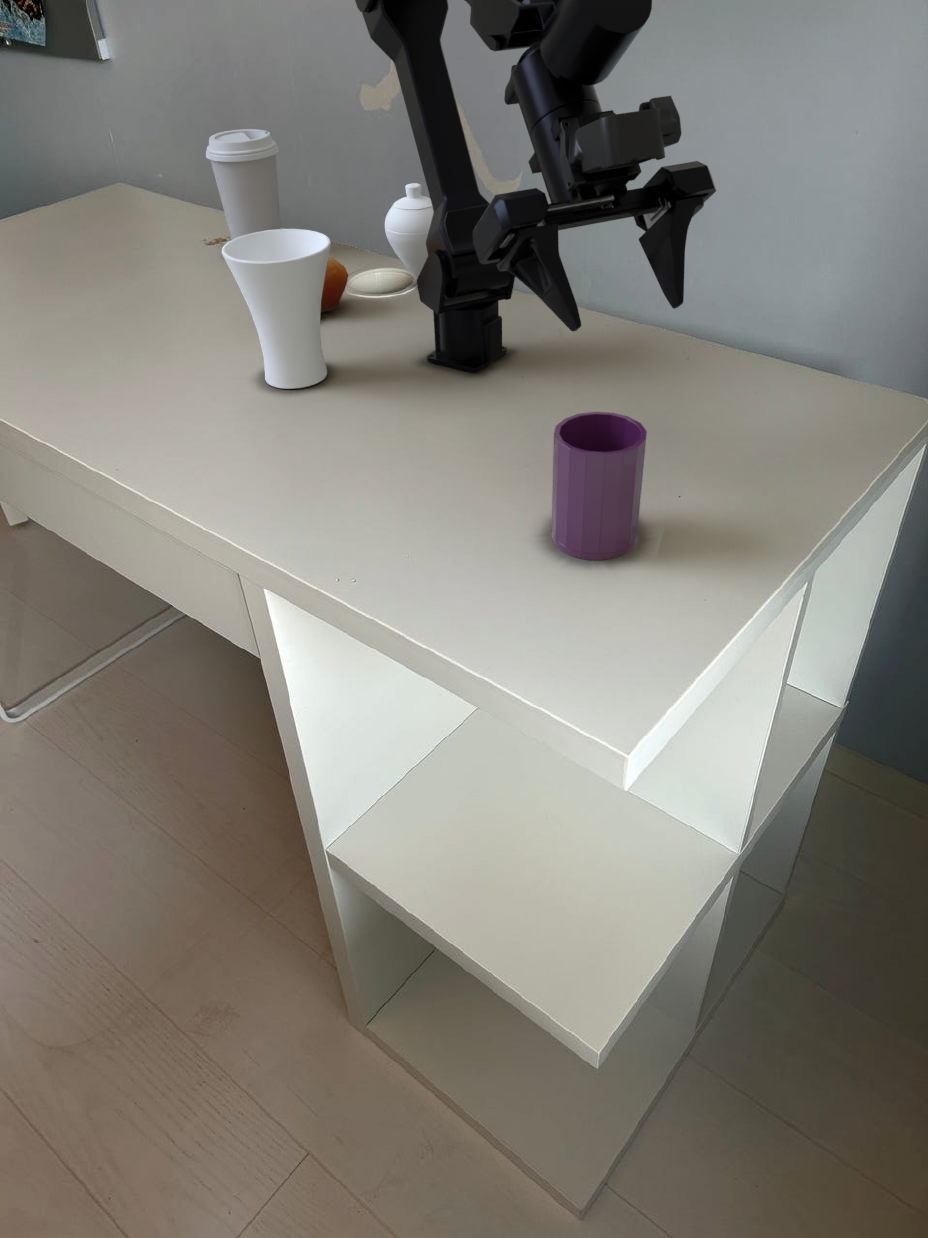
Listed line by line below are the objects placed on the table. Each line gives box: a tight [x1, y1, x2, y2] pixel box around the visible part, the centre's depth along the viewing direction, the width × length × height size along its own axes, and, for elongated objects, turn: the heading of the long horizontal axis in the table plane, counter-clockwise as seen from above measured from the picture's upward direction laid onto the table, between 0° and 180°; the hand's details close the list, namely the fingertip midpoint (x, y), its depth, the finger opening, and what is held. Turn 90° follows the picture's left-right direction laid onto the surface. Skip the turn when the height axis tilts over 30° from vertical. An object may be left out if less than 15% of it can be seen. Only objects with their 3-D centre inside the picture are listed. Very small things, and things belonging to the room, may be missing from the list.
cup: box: [221, 228, 332, 390], centre depth 96 cm, size 10×10×14 cm
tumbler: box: [550, 411, 648, 561], centre depth 72 cm, size 7×7×9 cm
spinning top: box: [384, 182, 434, 279], centre depth 117 cm, size 8×8×12 cm
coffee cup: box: [205, 128, 282, 240], centre depth 129 cm, size 10×10×15 cm
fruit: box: [321, 256, 349, 313], centre depth 113 cm, size 8×8×8 cm
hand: (628, 317), depth 73 cm, fingers open, 9 cm apart
